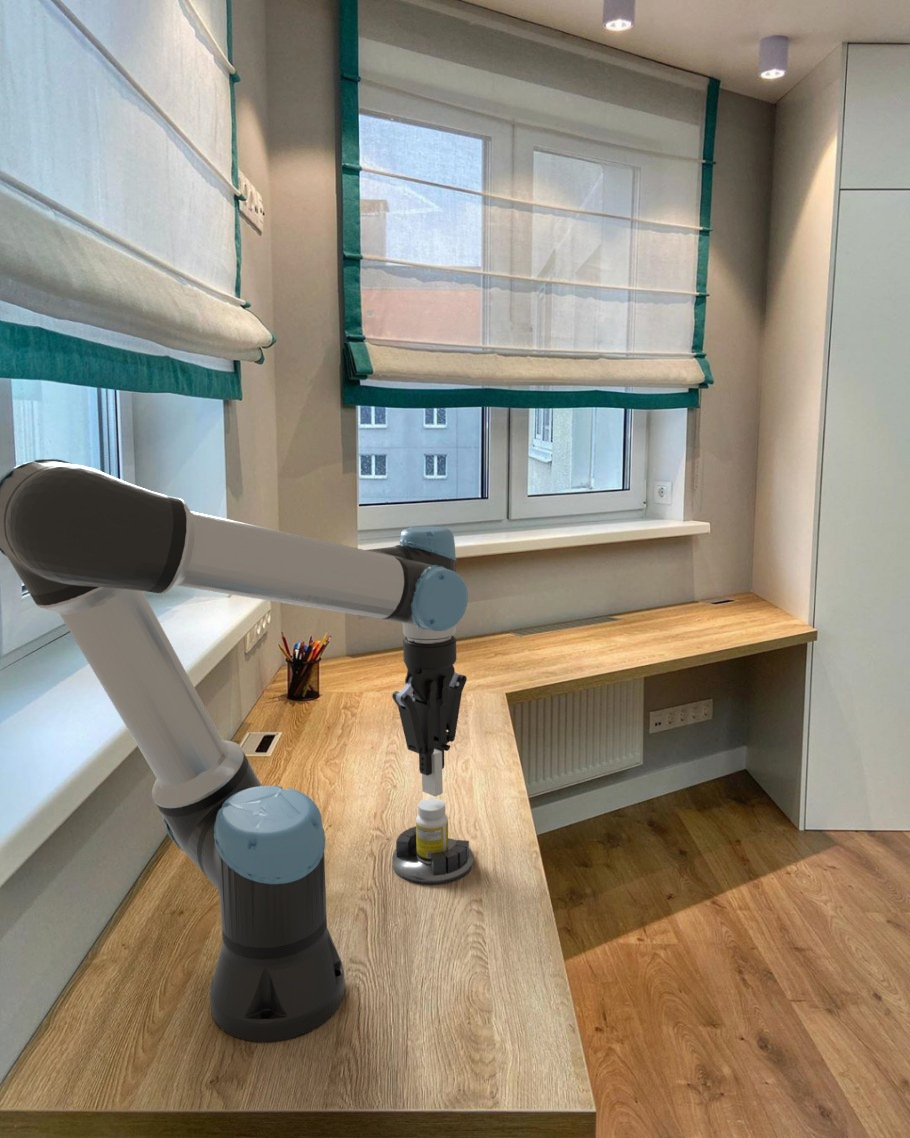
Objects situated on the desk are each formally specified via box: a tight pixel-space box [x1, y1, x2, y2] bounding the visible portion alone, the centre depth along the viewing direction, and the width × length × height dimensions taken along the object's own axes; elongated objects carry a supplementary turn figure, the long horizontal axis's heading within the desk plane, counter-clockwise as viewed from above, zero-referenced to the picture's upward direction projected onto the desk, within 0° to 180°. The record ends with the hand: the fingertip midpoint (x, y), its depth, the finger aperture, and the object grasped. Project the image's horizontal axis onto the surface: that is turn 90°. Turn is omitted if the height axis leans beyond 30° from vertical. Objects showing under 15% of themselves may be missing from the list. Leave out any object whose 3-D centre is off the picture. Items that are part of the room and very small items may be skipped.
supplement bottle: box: [415, 798, 449, 864], centre depth 128 cm, size 5×5×8 cm
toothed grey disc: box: [391, 825, 474, 886], centre depth 128 cm, size 12×12×4 cm
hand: (432, 792), depth 127 cm, fingers closed
